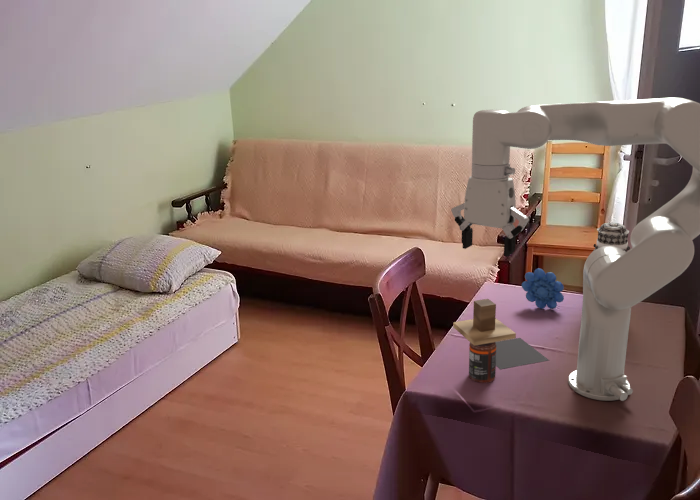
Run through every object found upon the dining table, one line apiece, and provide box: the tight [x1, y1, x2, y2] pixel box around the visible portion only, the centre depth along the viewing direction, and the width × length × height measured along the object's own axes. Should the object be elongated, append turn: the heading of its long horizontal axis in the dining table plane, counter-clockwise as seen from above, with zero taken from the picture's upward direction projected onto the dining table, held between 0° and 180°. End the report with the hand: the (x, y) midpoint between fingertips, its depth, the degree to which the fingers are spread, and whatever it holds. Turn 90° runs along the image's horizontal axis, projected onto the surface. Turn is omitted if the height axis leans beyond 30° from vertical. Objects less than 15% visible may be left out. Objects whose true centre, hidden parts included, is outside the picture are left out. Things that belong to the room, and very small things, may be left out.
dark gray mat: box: [495, 337, 550, 370], centre depth 154 cm, size 13×13×1 cm
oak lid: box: [452, 298, 517, 346], centre depth 139 cm, size 10×10×7 cm
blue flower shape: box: [521, 267, 565, 310], centre depth 177 cm, size 12×7×12 cm, turn 70°
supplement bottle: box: [468, 342, 497, 384], centre depth 142 cm, size 6×6×11 cm
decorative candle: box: [592, 222, 631, 252], centre depth 173 cm, size 9×9×25 cm
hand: (487, 250), depth 135 cm, fingers open, 9 cm apart
